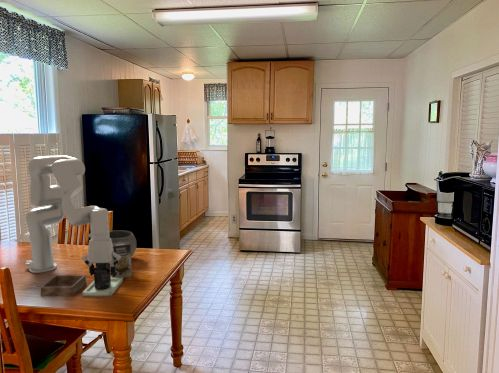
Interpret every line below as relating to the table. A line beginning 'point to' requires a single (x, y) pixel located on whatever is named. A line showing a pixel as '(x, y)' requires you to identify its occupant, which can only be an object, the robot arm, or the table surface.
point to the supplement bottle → (102, 276)
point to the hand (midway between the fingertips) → (102, 274)
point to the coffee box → (122, 260)
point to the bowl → (124, 238)
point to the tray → (107, 292)
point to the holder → (51, 290)
